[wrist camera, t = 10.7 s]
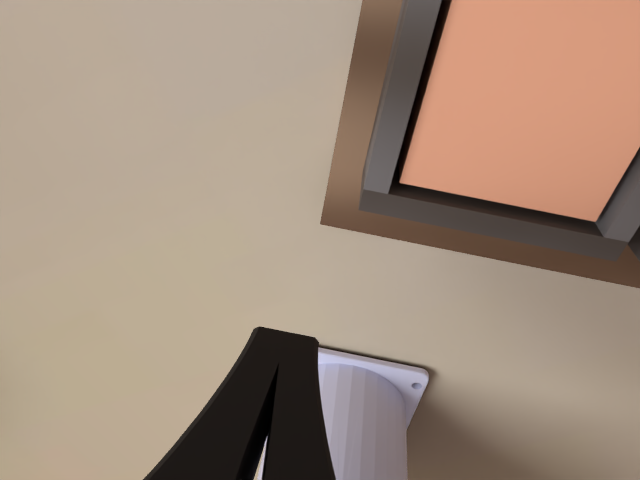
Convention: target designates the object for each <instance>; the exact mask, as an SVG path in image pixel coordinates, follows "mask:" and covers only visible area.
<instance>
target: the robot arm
mask: <svg viewBox="0 0 640 480" xmlns="http://www.w3.org/2000/svg"><path fill="white" fill-rule="evenodd" d="M318 346H319V342H318V341H317V339H316V338H315V337H310V336H305V335H300V334H295V333H289V332H284V331H279V330H274V329H269V328H264V327H257V328H255V329H254V330H253V332H252V334H251V336H250V338H249V340H248V342H247V344H246V346H245V347H244V349H243V351H242V353H241V354H240V356H239V358H238V359H237V361H236V362H235V364H234V366H233V367H232V369H231V370H230V372H229V373H228V375H227V376H226V378H225V379H224V381H223V382H222V383H221V385H220V386H219V388H218V389H217V390H216V392H215V393H214V394H213V396H212V397H211V399H210V400H209V401H208V403H207V404H206V406H205V407H204V408H203V410H202V411H201V412H200V413H199V415H198V416H197V417H196V418H195V420H194V421H193V422H192V423H191V425H190V426H189V427H188V428H187V430H186V431H185V432H184V433H183V435H182V436H181V437H180V438H179V439H178V441H177V442H176V443H175V444H174V446H173V447H172V448H171V449H170V450H169V451H168V453H167V454H166V455H165V456H164V457H163V458H162V459H161V461H160V462H159V463H158V464H157V465H156V466H155V467H154V468H153V470H152V471H151V472H150V473H149V474H148V475H147V476H146V477H145V478H144V479H143V480H253V479H254V476H255V473H256V470H257V467H258V463H259V460H260V457H261V454H262V451H263V448H264V446H265V448H264V452H263V456H262V461H261V465H260V469H259V473H258V478H257V480H408V473H407V434H406V430H407V428H408V426H409V424H410V422H411V419H412V417H413V415H414V413H415V410H416V408H417V406H418V404H419V402H420V399H421V397H422V395H423V393H424V390H425V388H426V386H427V384H428V382H429V374H428V372H427V371H426V370H425V369H422V368H418V367H413V366H408V365H403V364H398V363H393V362H388V361H383V360H378V359H373V358H369V357H364V356H359V355H354V354H349V353H344V352H339V351H334V350H329V349H324V348H319V347H318Z"/></svg>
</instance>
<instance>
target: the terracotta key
mask: <svg viewBox="0 0 640 480" xmlns="http://www.w3.org/2000/svg"><path fill="white" fill-rule="evenodd" d="M639 147H640V0H442V2H441V5H440V9H439V13H438V16H437V20H436V24H435V27H434V31H433V34H432V38H431V42H430V45H429V49H428V52H427V56H426V60H425V63H424V67H423V71H422V74H421V78H420V81H419V85H418V89H417V92H416V96H415V99H414V103H413V107H412V110H411V114H410V117H409V121H408V125H407V128H406V132H405V136H404V139H403V143H402V146H401V150H400V154H399V183H403V184H408V185H413V186H418V187H423V188H428V189H433V190H438V191H443V192H448V193H453V194H458V195H463V196H468V197H473V198H478V199H483V200H488V201H493V202H498V203H503V204H509V205H514V206H519V207H524V208H529V209H534V210H539V211H544V212H549V213H554V214H559V215H564V216H569V217H574V218H579V219H584V220H589V221H594V222H596V220H597V219H598V217H599V215H600V214H601V212H602V210H603V208H604V207H605V205H606V203H607V202H608V200H609V198H610V197H611V195H612V193H613V191H614V190H615V188H616V186H617V185H618V183H619V181H620V180H621V178H622V176H623V174H624V173H625V171H626V169H627V168H628V166H629V164H630V163H631V161H632V159H633V157H634V156H635V154H636V152H637V151H638V149H639Z"/></svg>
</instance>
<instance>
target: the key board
mask: <svg viewBox="0 0 640 480" xmlns="http://www.w3.org/2000/svg"><path fill="white" fill-rule="evenodd" d="M441 2H442V0H363V1H362V6H361V12H360V17H359V22H358V28H357V33H356V38H355V43H354V49H353V54H352V59H351V64H350V70H349V75H348V80H347V85H346V91H345V96H344V101H343V107H342V112H341V117H340V122H339V128H338V133H337V138H336V143H335V149H334V154H333V159H332V164H331V170H330V175H329V180H328V186H327V191H326V196H325V201H324V207H323V212H322V217H321V222H320V224H322V225H327V226H332V227H337V228H342V229H347V230H352V231H357V232H362V233H367V234H372V235H377V236H382V237H387V238H392V239H397V240H402V241H407V242H412V243H417V244H422V245H427V246H432V247H437V248H442V249H447V250H452V251H457V252H462V253H467V254H472V255H477V256H482V257H487V258H492V259H497V260H502V261H507V262H512V263H517V264H522V265H527V266H532V267H536V268H541V269H546V270H551V271H556V272H561V273H566V274H571V275H576V276H581V277H586V278H591V279H596V280H601V281H606V282H611V283H616V284H621V285H626V286H631V287H636V288H640V147H639V149H638V151H637V152H636V154H635V156H634V157H633V159H632V161H631V163H630V164H629V166H628V168H627V169H626V171H625V173H624V174H623V176H622V178H621V180H620V181H619V183H618V185H617V186H616V188H615V190H614V191H613V193H612V195H611V197H610V198H609V200H608V202H607V203H606V205H605V207H604V208H603V210H602V212H601V214H600V215H599V217H598V219H597V220H596V222H594V221H589V220H584V219H579V218H574V217H569V216H564V215H559V214H554V213H549V212H544V211H539V210H534V209H529V208H524V207H519V206H514V205H509V204H503V203H498V202H493V201H488V200H483V199H478V198H473V197H468V196H463V195H458V194H453V193H448V192H443V191H438V190H433V189H428V188H423V187H418V186H413V185H408V184H403V183H399V154H400V150H401V146H402V143H403V139H404V136H405V132H406V128H407V125H408V121H409V117H410V114H411V110H412V107H413V103H414V99H415V96H416V92H417V89H418V85H419V81H420V78H421V74H422V71H423V67H424V63H425V60H426V56H427V52H428V49H429V45H430V42H431V38H432V34H433V31H434V27H435V24H436V20H437V16H438V13H439V9H440V5H441Z"/></svg>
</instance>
